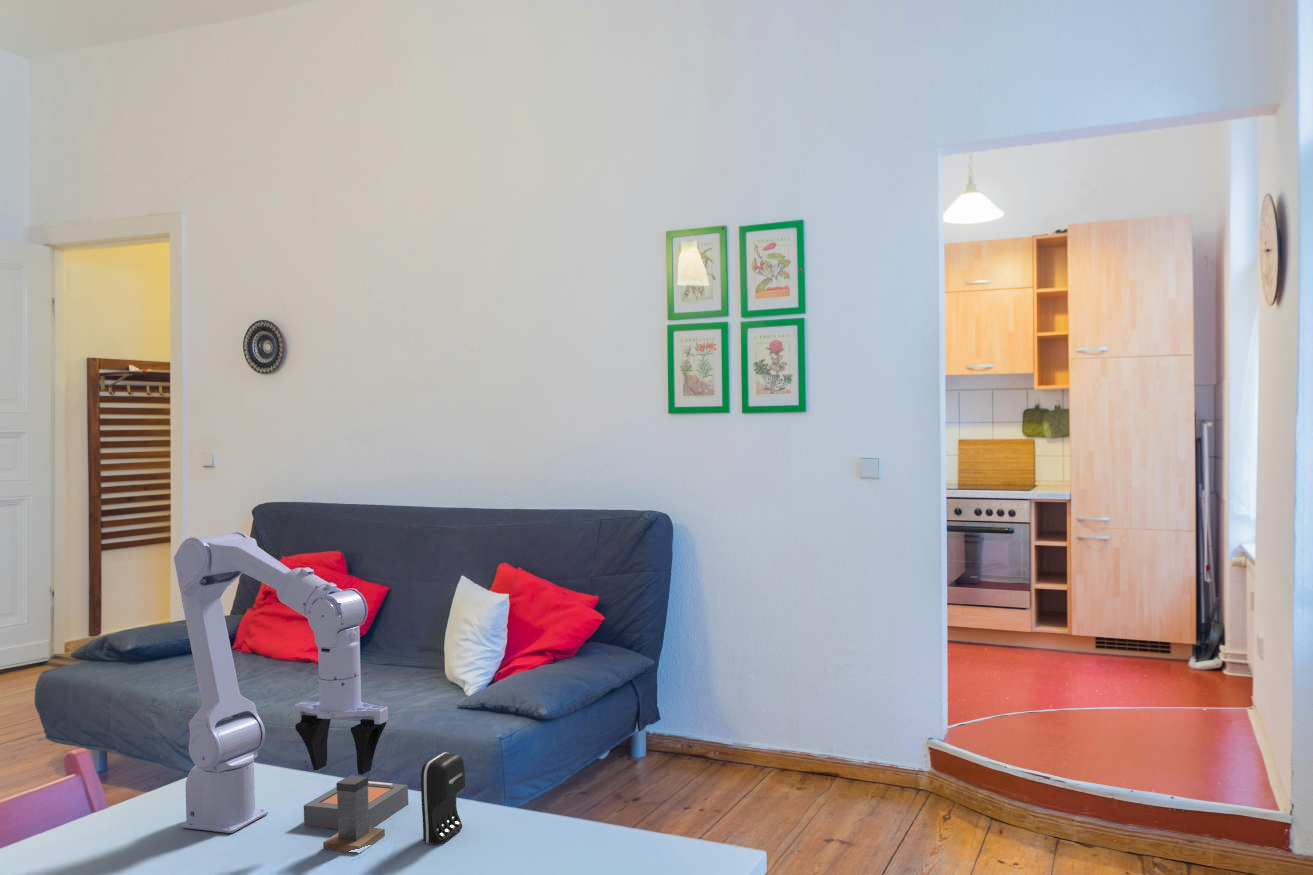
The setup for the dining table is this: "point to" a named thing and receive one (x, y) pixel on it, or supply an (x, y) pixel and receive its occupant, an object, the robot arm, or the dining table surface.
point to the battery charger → (441, 796)
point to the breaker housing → (378, 808)
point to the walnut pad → (349, 845)
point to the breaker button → (372, 795)
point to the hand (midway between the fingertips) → (342, 769)
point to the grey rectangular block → (352, 808)
